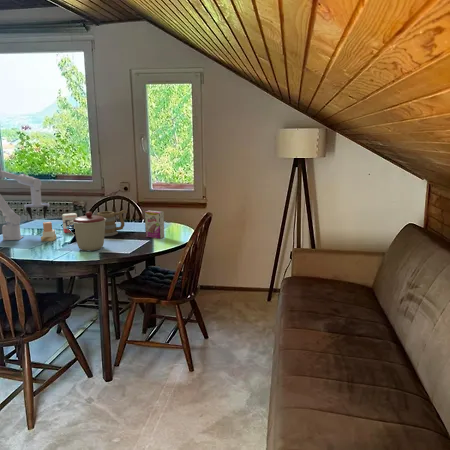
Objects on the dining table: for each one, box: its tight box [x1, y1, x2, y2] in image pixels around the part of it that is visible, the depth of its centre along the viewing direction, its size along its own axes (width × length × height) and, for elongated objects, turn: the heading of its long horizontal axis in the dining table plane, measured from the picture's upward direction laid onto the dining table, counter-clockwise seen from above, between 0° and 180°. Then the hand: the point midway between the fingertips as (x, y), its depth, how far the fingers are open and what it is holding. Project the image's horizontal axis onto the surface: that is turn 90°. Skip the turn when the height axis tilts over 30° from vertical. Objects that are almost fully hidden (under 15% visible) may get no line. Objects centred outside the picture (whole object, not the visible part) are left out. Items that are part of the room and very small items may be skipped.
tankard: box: [96, 209, 128, 237], centre depth 271 cm, size 20×13×15 cm, turn 114°
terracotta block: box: [42, 221, 53, 232], centre depth 255 cm, size 4×4×5 cm
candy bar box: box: [144, 210, 165, 240], centre depth 261 cm, size 11×5×16 cm, turn 65°
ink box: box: [61, 212, 78, 234], centre depth 277 cm, size 8×5×12 cm, turn 123°
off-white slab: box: [42, 229, 56, 237], centre depth 256 cm, size 6×6×3 cm
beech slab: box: [40, 233, 57, 242], centre depth 256 cm, size 7×7×3 cm
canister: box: [72, 211, 106, 252], centre depth 234 cm, size 18×18×21 cm
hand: (38, 218), depth 268 cm, fingers open, 7 cm apart
